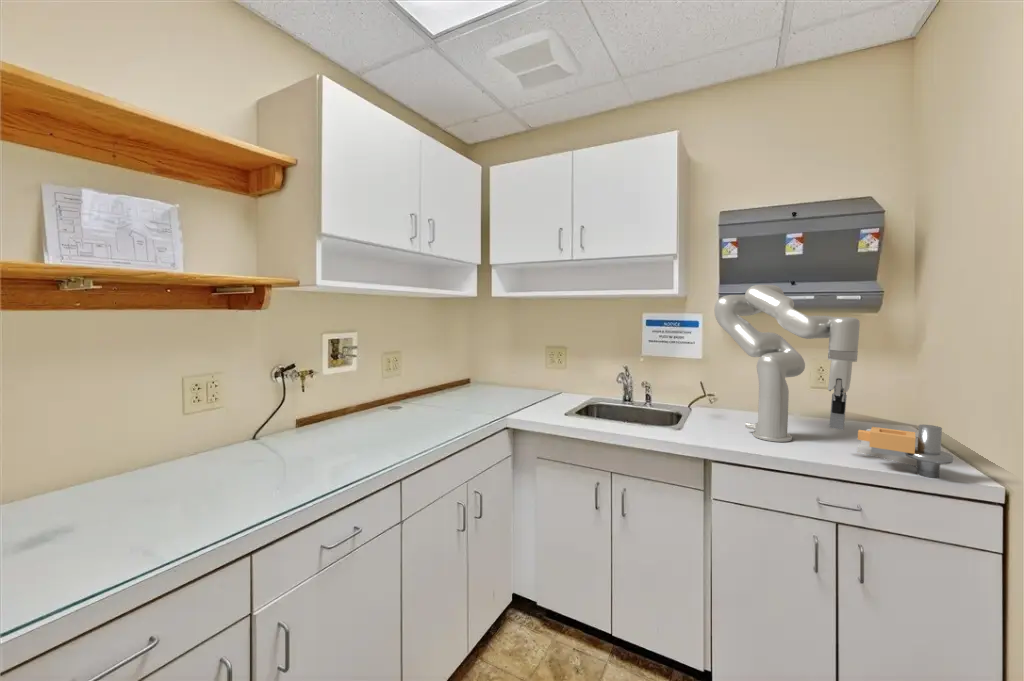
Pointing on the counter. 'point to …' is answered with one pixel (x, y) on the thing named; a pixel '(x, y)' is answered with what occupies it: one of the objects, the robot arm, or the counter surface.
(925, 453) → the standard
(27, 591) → the counter surface
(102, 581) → the counter surface
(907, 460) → the white curved casing
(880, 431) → the bracket
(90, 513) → the counter surface
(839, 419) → the grey rectangular bar
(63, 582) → the counter surface
